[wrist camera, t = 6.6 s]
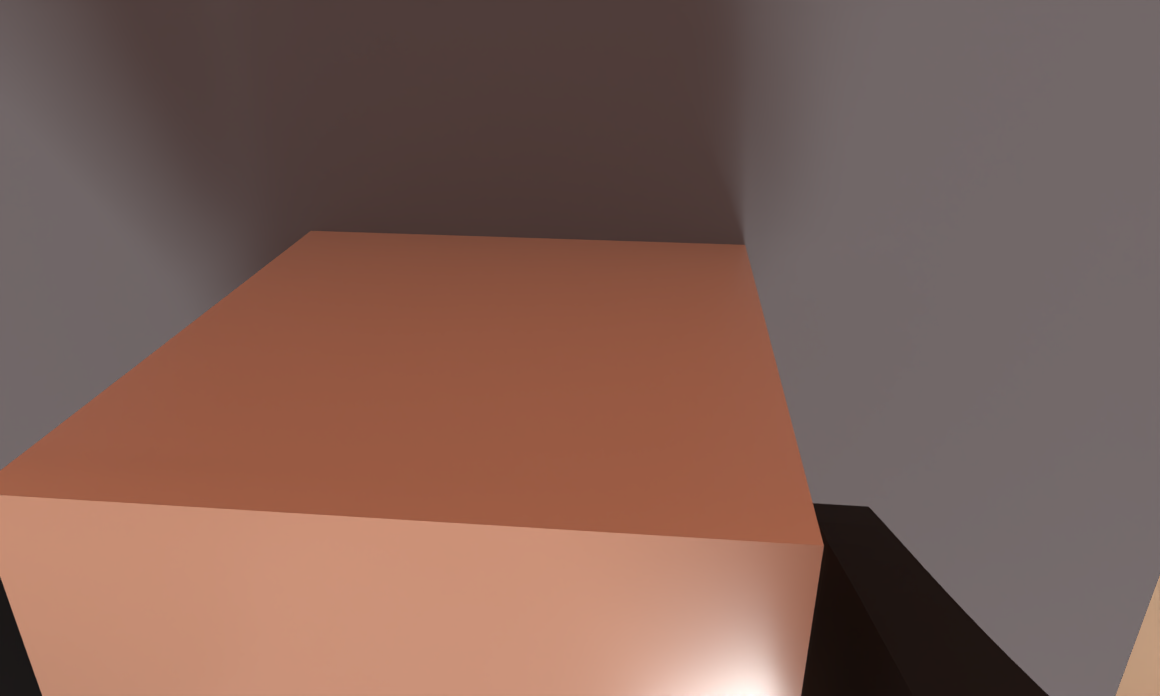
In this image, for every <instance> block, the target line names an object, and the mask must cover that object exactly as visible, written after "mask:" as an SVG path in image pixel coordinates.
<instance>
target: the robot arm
mask: <svg viewBox="0 0 1160 696" xmlns="http://www.w3.org/2000/svg"><path fill="white" fill-rule="evenodd" d="M813 506H814V510H815V514H816V518H817V521H818V525H819V529H820V533H821V537H822V540H823V544H824V548H823V555H822V561H821V568H820V574H819V581H818V587H817V594H816V600H815V607H814V614H813V620H812V627H811V633H810V640H809V646H808V653H807V660H806V666H805V673H804V679H803V686H802V692H801V696H1049V695H1048V694H1047V693H1046V692H1045V691H1044V690H1043V689H1042V688H1041V687H1040V686H1039V685H1037V684H1036V683H1035V682H1034V681H1033V680H1032V679H1031V678H1030V677H1029V676H1028V675H1027V674H1026V673H1025V672H1024V671H1023V670H1022V669H1021V668H1020V667H1019V666H1018V665H1017V664H1016V663H1015V662H1014V661H1013V660H1012V659H1011V658H1010V657H1009V656H1008V655H1007V654H1006V653H1005V652H1004V651H1003V650H1002V649H1001V648H1000V647H999V646H998V645H997V644H996V643H995V642H994V641H993V640H992V639H991V638H990V637H989V636H988V635H987V634H986V633H985V632H984V631H983V630H982V629H981V628H980V627H979V626H978V625H977V623H976V622H975V621H974V620H973V619H972V618H971V617H970V616H969V615H968V614H967V613H966V612H965V611H964V610H963V609H962V608H961V607H960V606H959V605H958V604H957V602H956V601H955V600H954V599H953V598H952V597H951V596H950V595H949V594H948V593H947V592H946V591H945V590H944V589H943V588H942V586H941V585H940V584H939V583H938V582H937V581H936V580H935V579H934V578H933V577H932V576H931V574H930V573H929V572H928V571H927V570H926V569H925V568H924V567H923V566H922V565H921V563H920V562H919V561H918V560H917V559H916V558H915V557H914V556H913V555H912V553H911V552H910V551H909V550H908V549H907V548H906V547H905V546H904V545H903V544H902V542H901V541H900V540H899V539H898V538H897V537H896V536H895V535H894V534H893V532H892V531H891V530H890V529H889V528H888V527H887V526H886V525H885V524H884V522H883V521H882V520H881V519H880V518H879V517H878V516H877V515H876V514H875V513H874V512H873V511H872V509H871V508H870V507H868V506H852V505H836V504H820V503H813ZM0 696H42V694H41V691H40V688H39V685H38V682H37V679H36V677H35V674H34V671H33V668H32V665H31V662H30V660H29V657H28V654H27V651H26V648H25V645H24V643H23V640H22V637H21V634H20V631H19V628H18V626H17V623H16V620H15V617H14V614H13V611H12V609H11V606H10V603H9V600H8V597H7V595H6V592H5V589H4V586H3V583H2V580H1V578H0Z"/></svg>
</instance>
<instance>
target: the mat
mask: <svg viewBox="0 0 1160 696" xmlns="http://www.w3.org/2000/svg"><path fill="white" fill-rule="evenodd" d="M310 231H333V232H364V233H395V234H425V235H456V236H487V237H518V238H549V239H579V240H610V241H641V242H672V243H703V244H733V245H745V246H746V250H747V254H748V258H749V261H750V265H751V269H752V273H753V277H754V280H755V284H756V288H757V292H758V296H759V300H760V303H761V307H762V311H763V315H764V319H765V323H766V326H767V330H768V334H769V338H770V342H771V345H772V349H773V353H774V357H775V361H776V365H777V368H778V372H779V376H780V380H781V384H782V388H783V391H784V395H785V399H786V403H787V407H788V410H789V414H790V418H791V422H792V426H793V430H794V433H795V437H796V441H797V445H798V449H799V453H800V456H801V460H802V464H803V468H804V472H805V475H806V479H807V483H808V487H809V491H810V495H811V498H812V502H813V503H820V504H836V505H852V506H868V507H870V508H871V509H872V511H873V512H874V513H875V514H876V515H877V516H878V517H879V518H880V519H881V520H882V521H883V522H884V524H885V525H886V526H887V527H888V528H889V529H890V530H891V531H892V532H893V534H894V535H895V536H896V537H897V538H898V539H899V540H900V541H901V542H902V544H903V545H904V546H905V547H906V548H907V549H908V550H909V551H910V552H911V553H912V555H913V556H914V557H915V558H916V559H917V560H918V561H919V562H920V563H921V565H922V566H923V567H924V568H925V569H926V570H927V571H928V572H929V573H930V574H931V576H932V577H933V578H934V579H935V580H936V581H937V582H938V583H939V584H940V585H941V586H942V588H943V589H944V590H945V591H946V592H947V593H948V594H949V595H950V596H951V597H952V598H953V599H954V600H955V601H956V602H957V604H958V605H959V606H960V607H961V608H962V609H963V610H964V611H965V612H966V613H967V614H968V615H969V616H970V617H971V618H972V619H973V620H974V621H975V622H976V623H977V625H978V626H979V627H980V628H981V629H982V630H983V631H984V632H985V633H986V634H987V635H988V636H989V637H990V638H991V639H992V640H993V641H994V642H995V643H996V644H997V645H998V646H999V647H1000V648H1001V649H1002V650H1003V651H1004V652H1005V653H1006V654H1007V655H1008V656H1009V657H1010V658H1011V659H1012V660H1013V661H1014V662H1015V663H1016V664H1017V665H1018V666H1019V667H1020V668H1021V669H1022V670H1023V671H1024V672H1025V673H1026V674H1027V675H1028V676H1029V677H1030V678H1031V679H1032V680H1033V681H1034V682H1035V683H1036V684H1037V685H1039V686H1040V687H1041V688H1042V689H1043V690H1044V691H1045V692H1046V693H1047V694H1048V695H1049V696H1115V695H1116V693H1117V690H1118V687H1119V684H1120V682H1121V679H1122V676H1123V673H1124V671H1125V668H1126V665H1127V663H1128V660H1129V657H1130V654H1131V652H1132V649H1133V646H1134V644H1135V641H1136V638H1137V635H1138V633H1139V630H1140V627H1141V625H1142V622H1143V619H1144V616H1145V614H1146V611H1147V608H1148V605H1149V603H1150V600H1151V597H1152V595H1153V592H1154V589H1155V586H1156V584H1157V581H1158V578H1159V576H1160V0H0V470H2V469H3V468H4V467H6V466H7V465H8V464H9V463H11V462H12V461H13V460H15V459H16V458H17V457H18V456H20V455H21V454H22V453H24V452H25V451H26V450H28V449H29V448H30V447H31V446H33V445H34V444H35V443H37V442H38V441H39V440H41V439H42V438H43V437H44V436H46V435H47V434H48V433H50V432H51V431H52V430H53V429H55V428H56V427H57V426H59V425H60V424H61V423H63V422H64V421H65V420H66V419H68V418H69V417H70V416H72V415H73V414H74V413H75V412H77V411H78V410H79V409H81V408H82V407H83V406H85V405H86V404H87V403H88V402H90V401H91V400H92V399H94V398H95V397H96V396H98V395H99V394H100V393H101V392H103V391H104V390H105V389H107V388H108V387H109V386H110V385H112V384H113V383H114V382H116V381H117V380H118V379H120V378H121V377H122V376H123V375H125V374H126V373H127V372H129V371H130V370H131V369H133V368H134V367H135V366H136V365H138V364H139V363H140V362H142V361H143V360H144V359H145V358H147V357H148V356H149V355H151V354H152V353H153V352H155V351H156V350H157V349H158V348H160V347H161V346H162V345H164V344H165V343H166V342H167V341H169V340H170V339H171V338H173V337H174V336H175V335H177V334H178V333H179V332H180V331H182V330H183V329H184V328H186V327H187V326H188V325H190V324H191V323H192V322H193V321H195V320H196V319H197V318H199V317H200V316H201V315H202V314H204V313H205V312H206V311H208V310H209V309H210V308H212V307H213V306H214V305H215V304H217V303H218V302H219V301H221V300H222V299H223V298H225V297H226V296H227V295H228V294H230V293H231V292H232V291H234V290H235V289H236V288H237V287H239V286H240V285H241V284H243V283H244V282H245V281H247V280H248V279H249V278H250V277H252V276H253V275H254V274H256V273H257V272H258V271H259V270H261V269H262V268H263V267H265V266H266V265H267V264H269V263H270V262H271V261H272V260H274V259H275V258H276V257H278V256H279V255H280V254H282V253H283V252H284V251H285V250H287V249H288V248H289V247H291V246H292V245H293V244H294V243H296V242H297V241H298V240H300V239H301V238H302V237H304V236H305V235H306V234H307V233H309V232H310Z"/></svg>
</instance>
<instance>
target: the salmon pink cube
mask: <svg viewBox="0 0 1160 696" xmlns="http://www.w3.org/2000/svg"><path fill="white" fill-rule="evenodd" d="M823 548H824V544H823V540H822V537H821V533H820V529H819V525H818V521H817V518H816V514H815V510H814V506H813V502H812V498H811V495H810V491H809V487H808V483H807V479H806V475H805V472H804V468H803V464H802V460H801V456H800V453H799V449H798V445H797V441H796V437H795V433H794V430H793V426H792V422H791V418H790V414H789V410H788V407H787V403H786V399H785V395H784V391H783V388H782V384H781V380H780V376H779V372H778V368H777V365H776V361H775V357H774V353H773V349H772V345H771V342H770V338H769V334H768V330H767V326H766V323H765V319H764V315H763V311H762V307H761V303H760V300H759V296H758V292H757V288H756V284H755V280H754V277H753V273H752V269H751V265H750V261H749V258H748V254H747V250H746V246H745V245H733V244H703V243H672V242H641V241H610V240H579V239H549V238H518V237H487V236H456V235H425V234H395V233H364V232H333V231H310V232H309V233H307V234H306V235H305V236H304V237H302V238H301V239H300V240H298V241H297V242H296V243H294V244H293V245H292V246H291V247H289V248H288V249H287V250H285V251H284V252H283V253H282V254H280V255H279V256H278V257H276V258H275V259H274V260H272V261H271V262H270V263H269V264H267V265H266V266H265V267H263V268H262V269H261V270H259V271H258V272H257V273H256V274H254V275H253V276H252V277H250V278H249V279H248V280H247V281H245V282H244V283H243V284H241V285H240V286H239V287H237V288H236V289H235V290H234V291H232V292H231V293H230V294H228V295H227V296H226V297H225V298H223V299H222V300H221V301H219V302H218V303H217V304H215V305H214V306H213V307H212V308H210V309H209V310H208V311H206V312H205V313H204V314H202V315H201V316H200V317H199V318H197V319H196V320H195V321H193V322H192V323H191V324H190V325H188V326H187V327H186V328H184V329H183V330H182V331H180V332H179V333H178V334H177V335H175V336H174V337H173V338H171V339H170V340H169V341H167V342H166V343H165V344H164V345H162V346H161V347H160V348H158V349H157V350H156V351H155V352H153V353H152V354H151V355H149V356H148V357H147V358H145V359H144V360H143V361H142V362H140V363H139V364H138V365H136V366H135V367H134V368H133V369H131V370H130V371H129V372H127V373H126V374H125V375H123V376H122V377H121V378H120V379H118V380H117V381H116V382H114V383H113V384H112V385H110V386H109V387H108V388H107V389H105V390H104V391H103V392H101V393H100V394H99V395H98V396H96V397H95V398H94V399H92V400H91V401H90V402H88V403H87V404H86V405H85V406H83V407H82V408H81V409H79V410H78V411H77V412H75V413H74V414H73V415H72V416H70V417H69V418H68V419H66V420H65V421H64V422H63V423H61V424H60V425H59V426H57V427H56V428H55V429H53V430H52V431H51V432H50V433H48V434H47V435H46V436H44V437H43V438H42V439H41V440H39V441H38V442H37V443H35V444H34V445H33V446H31V447H30V448H29V449H28V450H26V451H25V452H24V453H22V454H21V455H20V456H18V457H17V458H16V459H15V460H13V461H12V462H11V463H9V464H8V465H7V466H6V467H4V468H3V469H2V470H0V578H1V580H2V583H3V586H4V589H5V592H6V595H7V597H8V600H9V603H10V606H11V609H12V611H13V614H14V617H15V620H16V623H17V626H18V628H19V631H20V634H21V637H22V640H23V643H24V645H25V648H26V651H27V654H28V657H29V660H30V662H31V665H32V668H33V671H34V674H35V677H36V679H37V682H38V685H39V688H40V691H41V694H42V696H801V692H802V686H803V679H804V673H805V666H806V660H807V653H808V646H809V640H810V633H811V627H812V620H813V614H814V607H815V600H816V594H817V587H818V581H819V574H820V568H821V561H822V555H823Z"/></svg>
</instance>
